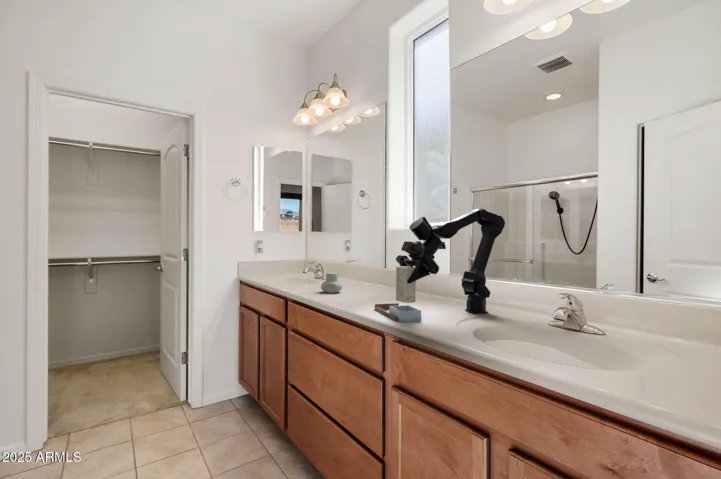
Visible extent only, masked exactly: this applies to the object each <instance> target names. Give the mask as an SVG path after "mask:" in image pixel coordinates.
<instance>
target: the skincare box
mask: <svg viewBox="0 0 721 479" xmlns="http://www.w3.org/2000/svg"><path fill="white" fill-rule="evenodd" d="M414 270H415V266H413V267H407V266H400V265H399V266H395V301H396V302H400V303H405V304H409V303H410V304H411V303H412V304H413V303H416V285H417V284H416V282H417V280H416V281H414V282H412V283H410V284H408V282H407V281H408V279H409V277H410V276H411V274H412V273H413V271H414Z"/></svg>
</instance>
